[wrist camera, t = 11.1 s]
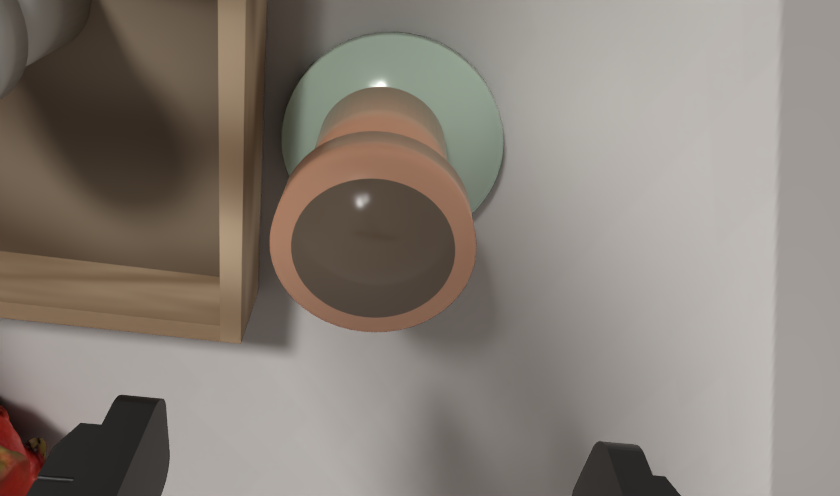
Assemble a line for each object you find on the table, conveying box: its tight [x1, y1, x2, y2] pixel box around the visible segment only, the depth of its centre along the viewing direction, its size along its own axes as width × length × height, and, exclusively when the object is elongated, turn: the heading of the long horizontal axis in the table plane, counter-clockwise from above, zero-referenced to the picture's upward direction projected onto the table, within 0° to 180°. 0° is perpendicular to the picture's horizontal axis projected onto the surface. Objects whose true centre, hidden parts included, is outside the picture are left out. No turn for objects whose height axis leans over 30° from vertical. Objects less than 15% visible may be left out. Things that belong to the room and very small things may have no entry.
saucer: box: [281, 32, 503, 213], centre depth 24 cm, size 8×8×1 cm
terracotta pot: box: [270, 87, 476, 332], centre depth 21 cm, size 6×6×7 cm
